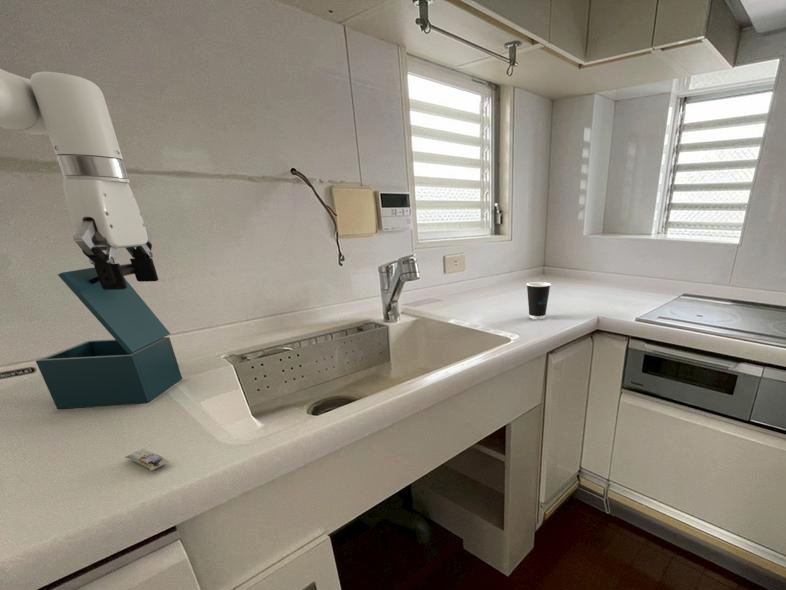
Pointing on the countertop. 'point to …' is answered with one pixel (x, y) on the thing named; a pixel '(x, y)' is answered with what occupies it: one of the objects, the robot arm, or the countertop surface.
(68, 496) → the countertop surface
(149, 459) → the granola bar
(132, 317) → the teal handled lid
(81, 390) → the teal box
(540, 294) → the dixie cup
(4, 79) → the robot arm
